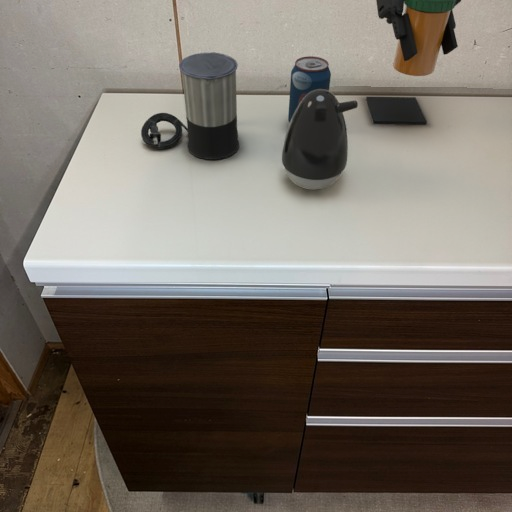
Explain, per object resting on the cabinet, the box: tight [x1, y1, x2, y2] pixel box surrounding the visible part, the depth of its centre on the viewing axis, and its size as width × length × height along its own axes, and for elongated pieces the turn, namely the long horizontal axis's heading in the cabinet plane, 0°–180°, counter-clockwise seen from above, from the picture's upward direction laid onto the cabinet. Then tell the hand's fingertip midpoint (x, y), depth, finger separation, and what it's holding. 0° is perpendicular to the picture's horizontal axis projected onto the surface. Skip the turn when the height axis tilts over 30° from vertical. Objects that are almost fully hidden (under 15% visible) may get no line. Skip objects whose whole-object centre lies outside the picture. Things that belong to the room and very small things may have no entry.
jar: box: [392, 5, 451, 77], centre depth 78 cm, size 7×7×12 cm
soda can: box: [287, 55, 332, 124], centre depth 85 cm, size 7×7×12 cm
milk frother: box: [140, 51, 240, 160], centre depth 79 cm, size 14×16×15 cm
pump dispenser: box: [281, 89, 359, 190], centre depth 72 cm, size 10×10×15 cm
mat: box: [365, 96, 428, 126], centre depth 93 cm, size 10×10×1 cm
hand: (430, 53), depth 78 cm, fingers closed on jar, 7 cm apart
